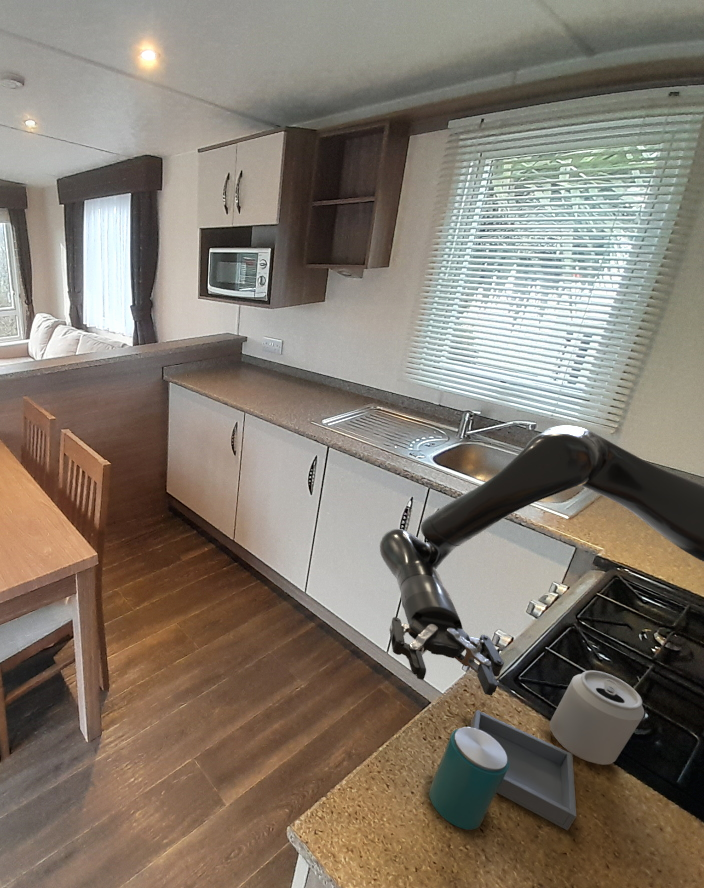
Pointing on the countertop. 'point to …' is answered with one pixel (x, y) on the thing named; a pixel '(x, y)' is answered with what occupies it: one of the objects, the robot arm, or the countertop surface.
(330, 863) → the countertop surface
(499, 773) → the slim can
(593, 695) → the can
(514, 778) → the gray rectangular tray
